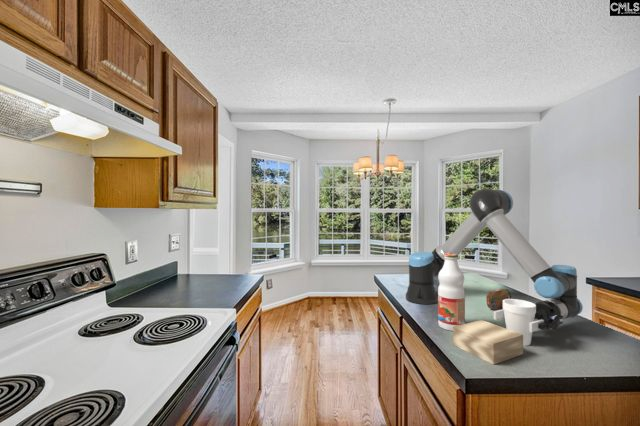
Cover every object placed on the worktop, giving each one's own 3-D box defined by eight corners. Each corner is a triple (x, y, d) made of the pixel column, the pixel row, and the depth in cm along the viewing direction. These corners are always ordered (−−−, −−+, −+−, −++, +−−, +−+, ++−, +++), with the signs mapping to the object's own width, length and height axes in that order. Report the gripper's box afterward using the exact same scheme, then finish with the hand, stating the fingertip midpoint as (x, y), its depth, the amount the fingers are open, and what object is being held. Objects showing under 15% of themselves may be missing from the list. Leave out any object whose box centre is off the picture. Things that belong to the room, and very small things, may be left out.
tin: (491, 311, 129) (491, 292, 129) (485, 309, 131) (484, 291, 131) (512, 306, 136) (511, 288, 136) (505, 304, 138) (504, 286, 138)
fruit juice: (469, 331, 108) (469, 255, 108) (444, 332, 108) (443, 255, 108) (458, 322, 117) (457, 252, 117) (434, 322, 117) (433, 252, 117)
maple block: (453, 344, 97) (452, 326, 97) (481, 336, 103) (481, 319, 103) (493, 364, 85) (493, 343, 85) (523, 354, 91) (523, 334, 91)
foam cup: (537, 350, 93) (537, 309, 93) (503, 343, 98) (502, 304, 98) (534, 339, 101) (534, 301, 101) (503, 333, 106) (502, 297, 106)
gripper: (589, 333, 96) (551, 347, 87) (516, 311, 118) (479, 320, 108) (589, 310, 96) (551, 321, 87) (516, 292, 118) (479, 300, 108)
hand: (511, 321), depth 98 cm, fingers open, 11 cm apart
